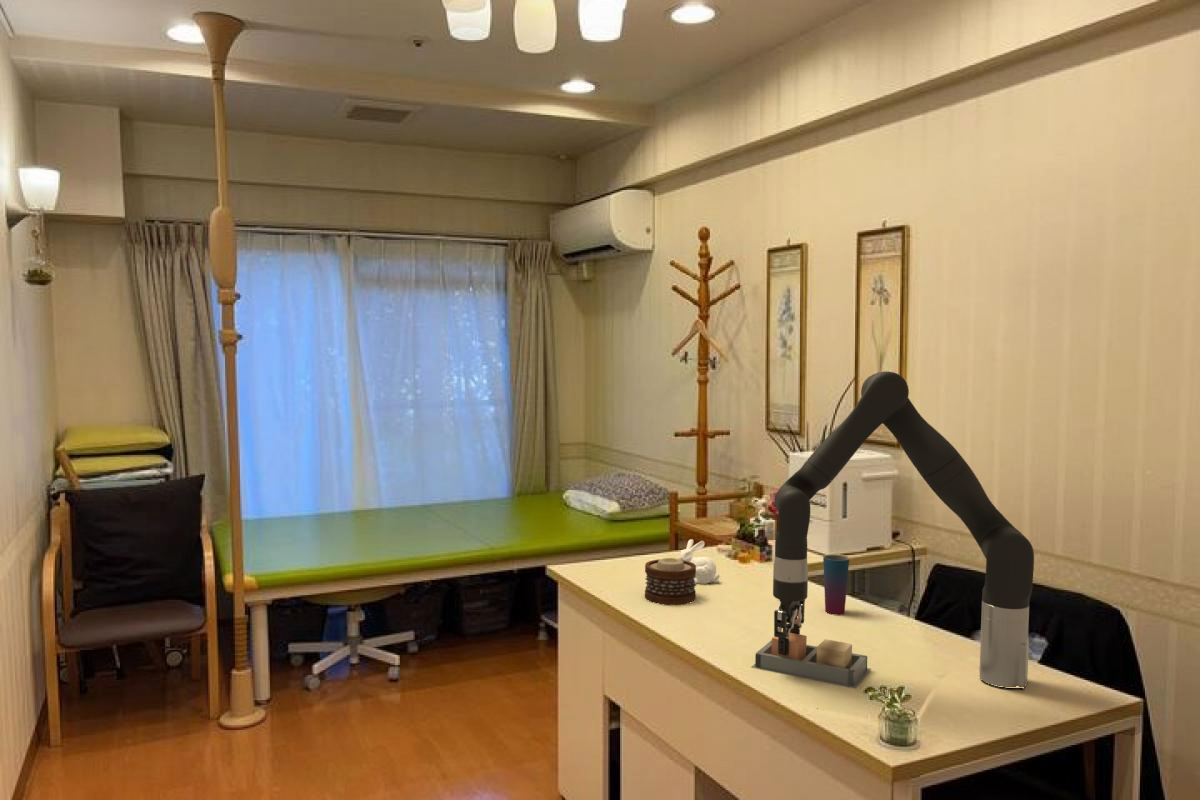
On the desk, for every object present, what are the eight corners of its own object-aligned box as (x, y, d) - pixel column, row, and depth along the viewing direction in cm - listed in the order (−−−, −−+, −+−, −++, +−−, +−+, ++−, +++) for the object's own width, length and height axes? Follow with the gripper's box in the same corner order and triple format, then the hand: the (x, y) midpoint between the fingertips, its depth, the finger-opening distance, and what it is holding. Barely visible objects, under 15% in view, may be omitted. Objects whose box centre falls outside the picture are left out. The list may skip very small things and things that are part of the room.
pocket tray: (871, 673, 198) (871, 655, 198) (855, 692, 187) (855, 674, 187) (771, 654, 210) (771, 637, 209) (750, 671, 198) (751, 653, 198)
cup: (830, 616, 238) (831, 561, 237) (817, 609, 245) (818, 555, 244) (852, 615, 240) (854, 559, 239) (839, 607, 246) (840, 553, 245)
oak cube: (851, 670, 197) (852, 643, 196) (843, 679, 191) (844, 652, 191) (824, 665, 200) (825, 639, 199) (816, 674, 195) (816, 647, 194)
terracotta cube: (805, 662, 202) (806, 635, 202) (797, 669, 197) (798, 642, 196) (780, 657, 205) (780, 631, 205) (771, 664, 200) (771, 638, 199)
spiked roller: (670, 551, 265) (707, 561, 254) (669, 587, 266) (707, 598, 254) (633, 559, 255) (671, 569, 244) (633, 596, 256) (670, 608, 245)
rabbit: (677, 582, 271) (677, 543, 270) (685, 575, 280) (685, 537, 279) (716, 586, 267) (717, 546, 266) (723, 578, 275) (724, 540, 275)
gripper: (796, 586, 191) (794, 662, 192) (816, 571, 204) (815, 643, 205) (762, 581, 195) (761, 656, 196) (784, 567, 207) (783, 637, 209)
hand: (789, 649), depth 201 cm, fingers open, 7 cm apart
